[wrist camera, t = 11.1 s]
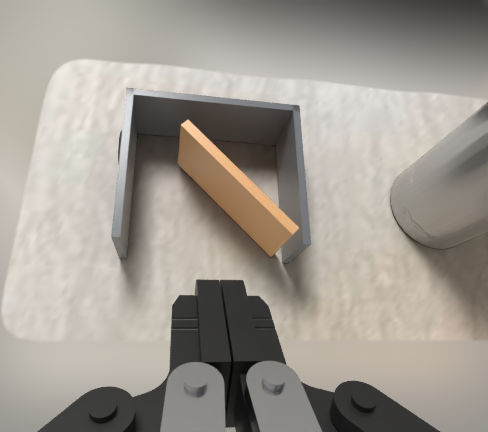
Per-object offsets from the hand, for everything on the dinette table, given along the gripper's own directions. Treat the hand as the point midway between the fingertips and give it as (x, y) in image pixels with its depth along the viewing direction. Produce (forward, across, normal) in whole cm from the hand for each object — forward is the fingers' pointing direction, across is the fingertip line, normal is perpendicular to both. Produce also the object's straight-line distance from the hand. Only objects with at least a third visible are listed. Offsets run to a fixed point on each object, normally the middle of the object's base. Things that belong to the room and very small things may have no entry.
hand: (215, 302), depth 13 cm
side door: (+24, -3, +7) cm, 25 cm away
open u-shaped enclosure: (+25, -1, +6) cm, 26 cm away
